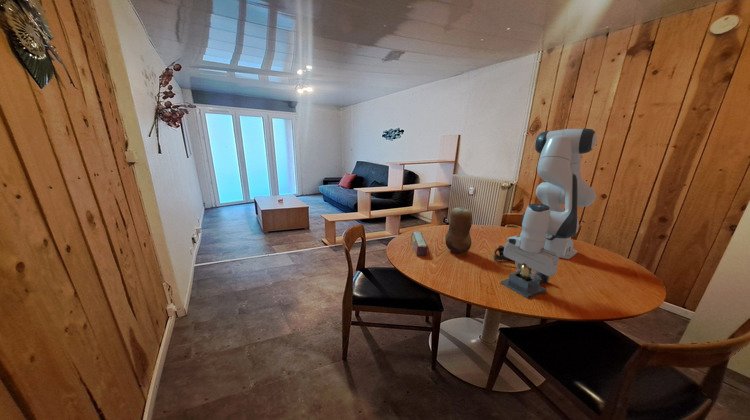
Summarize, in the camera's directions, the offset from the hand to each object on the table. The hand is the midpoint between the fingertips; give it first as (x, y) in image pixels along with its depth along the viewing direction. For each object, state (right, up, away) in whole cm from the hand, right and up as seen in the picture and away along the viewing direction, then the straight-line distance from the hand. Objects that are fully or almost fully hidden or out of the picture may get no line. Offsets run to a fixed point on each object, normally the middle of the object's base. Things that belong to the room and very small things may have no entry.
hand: (525, 275), depth 102 cm
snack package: (-37, +5, +38) cm, 53 cm away
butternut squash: (-17, +4, +34) cm, 38 cm away
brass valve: (0, -3, +1) cm, 3 cm away
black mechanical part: (+5, +1, +26) cm, 27 cm away
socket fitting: (+3, -5, +3) cm, 7 cm away
